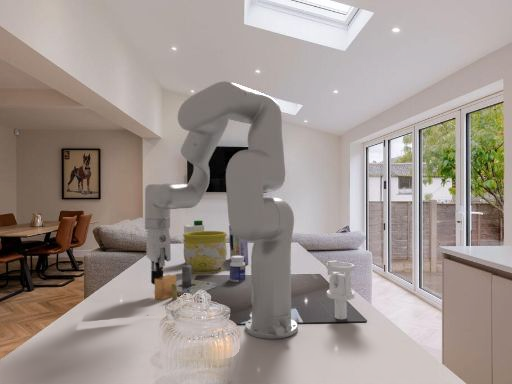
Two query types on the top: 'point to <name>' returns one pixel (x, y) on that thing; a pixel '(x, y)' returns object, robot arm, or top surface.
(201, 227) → the milk carton
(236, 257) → the pill bottle
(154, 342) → the top surface
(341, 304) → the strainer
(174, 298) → the board
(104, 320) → the top surface
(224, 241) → the flowerpot
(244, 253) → the cake pan box
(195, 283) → the flange plate
